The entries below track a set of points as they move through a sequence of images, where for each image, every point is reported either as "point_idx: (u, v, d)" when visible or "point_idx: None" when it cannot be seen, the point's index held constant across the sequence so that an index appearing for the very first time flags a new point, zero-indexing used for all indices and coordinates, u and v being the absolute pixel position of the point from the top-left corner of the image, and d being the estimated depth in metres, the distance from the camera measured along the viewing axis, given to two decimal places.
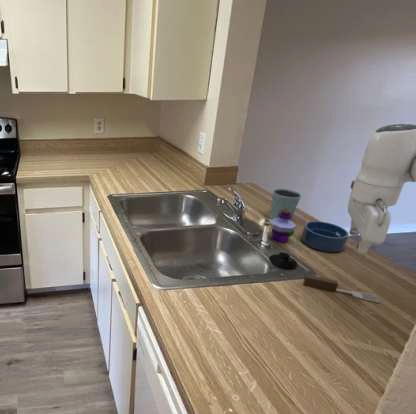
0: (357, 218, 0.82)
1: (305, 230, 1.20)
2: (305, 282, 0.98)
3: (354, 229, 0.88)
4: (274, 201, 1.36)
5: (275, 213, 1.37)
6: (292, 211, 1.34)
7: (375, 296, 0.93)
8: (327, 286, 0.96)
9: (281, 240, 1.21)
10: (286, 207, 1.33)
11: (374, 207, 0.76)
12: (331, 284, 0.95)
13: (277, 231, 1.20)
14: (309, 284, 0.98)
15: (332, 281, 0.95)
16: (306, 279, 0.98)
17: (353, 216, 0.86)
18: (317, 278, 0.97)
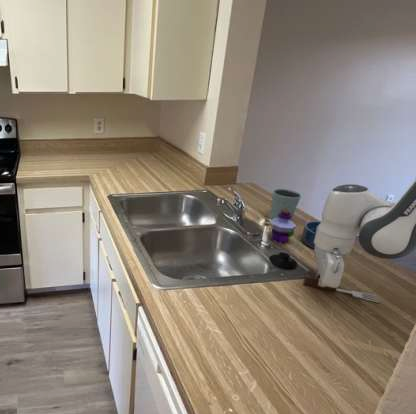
0: (319, 261, 0.94)
1: (305, 230, 1.20)
2: (305, 282, 0.98)
3: None
4: (274, 201, 1.36)
5: (275, 213, 1.37)
6: (292, 211, 1.34)
7: (375, 296, 0.93)
8: (327, 286, 0.96)
9: (281, 240, 1.21)
10: (286, 207, 1.33)
11: (331, 255, 0.88)
12: None
13: (277, 231, 1.20)
14: (309, 284, 0.98)
15: None
16: (306, 279, 0.98)
17: (317, 258, 0.98)
18: (317, 278, 0.97)
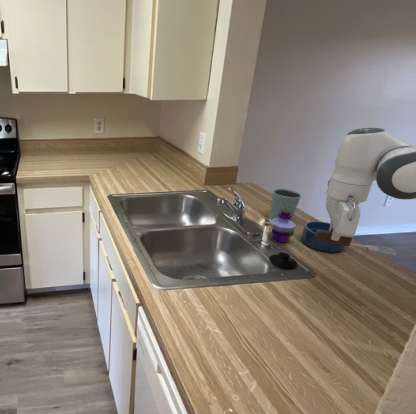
0: (332, 214, 0.90)
1: (305, 230, 1.20)
2: (317, 237, 0.93)
3: (333, 229, 0.93)
4: (274, 201, 1.36)
5: (275, 213, 1.37)
6: (292, 211, 1.34)
7: (391, 249, 0.88)
8: (340, 240, 0.91)
9: (281, 240, 1.21)
10: (286, 207, 1.33)
11: (346, 203, 0.83)
12: (345, 238, 0.90)
13: (277, 231, 1.20)
14: (321, 239, 0.93)
15: None
16: (318, 234, 0.93)
17: (330, 212, 0.93)
18: (330, 232, 0.92)
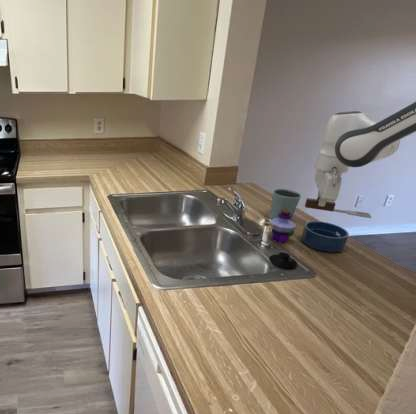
0: (320, 184, 1.07)
1: (305, 230, 1.20)
2: (306, 204, 1.11)
3: (320, 197, 1.10)
4: (274, 201, 1.36)
5: (275, 213, 1.37)
6: (292, 211, 1.34)
7: (368, 213, 1.06)
8: (326, 206, 1.09)
9: (281, 240, 1.21)
10: (286, 207, 1.33)
11: (330, 173, 1.01)
12: (329, 204, 1.08)
13: (277, 231, 1.20)
14: (310, 206, 1.11)
15: (330, 202, 1.09)
16: (307, 201, 1.11)
17: (317, 183, 1.11)
18: (317, 200, 1.10)
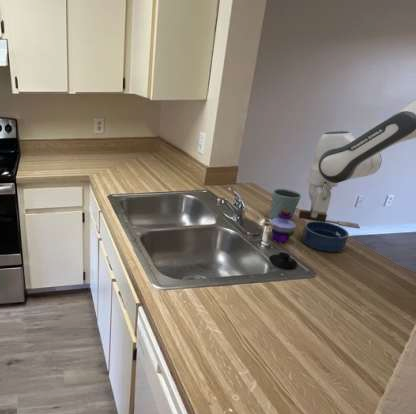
0: (312, 196, 1.16)
1: (305, 230, 1.20)
2: (300, 215, 1.20)
3: (313, 209, 1.19)
4: (274, 201, 1.36)
5: (275, 213, 1.37)
6: (292, 211, 1.34)
7: (357, 224, 1.15)
8: (318, 217, 1.17)
9: (281, 240, 1.21)
10: (286, 207, 1.33)
11: (321, 188, 1.09)
12: (321, 215, 1.17)
13: (277, 231, 1.20)
14: (303, 217, 1.19)
15: (322, 213, 1.17)
16: (301, 213, 1.19)
17: (310, 196, 1.19)
18: (310, 211, 1.18)
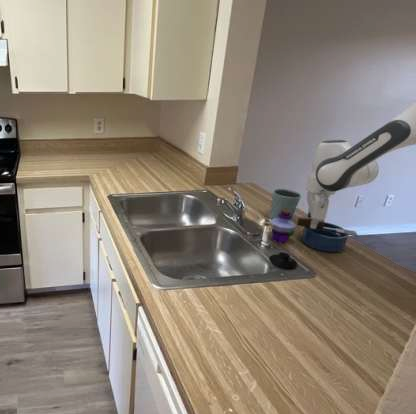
0: (310, 204, 1.17)
1: (305, 230, 1.20)
2: (298, 223, 1.21)
3: None
4: (274, 201, 1.36)
5: (275, 213, 1.37)
6: (292, 211, 1.34)
7: (354, 231, 1.16)
8: None
9: (281, 240, 1.21)
10: (286, 207, 1.33)
11: (319, 196, 1.11)
12: (319, 223, 1.18)
13: (277, 231, 1.20)
14: (302, 224, 1.20)
15: (320, 221, 1.18)
16: (299, 220, 1.20)
17: (308, 203, 1.20)
18: (308, 219, 1.20)
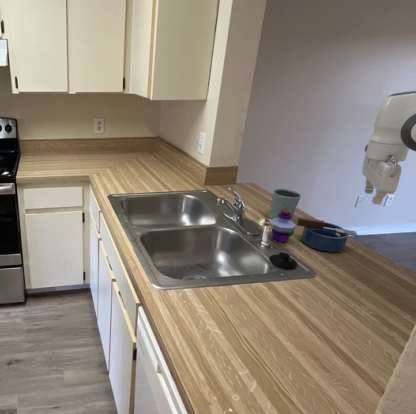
0: (371, 175, 0.96)
1: (305, 230, 1.20)
2: (298, 223, 1.21)
3: (369, 187, 1.01)
4: (274, 201, 1.36)
5: (275, 213, 1.37)
6: (292, 211, 1.34)
7: (354, 231, 1.16)
8: (316, 225, 1.18)
9: (281, 240, 1.21)
10: (286, 207, 1.33)
11: (386, 162, 0.89)
12: (319, 223, 1.18)
13: (277, 231, 1.20)
14: (302, 224, 1.20)
15: (320, 221, 1.18)
16: (299, 220, 1.20)
17: (368, 175, 0.99)
18: (308, 219, 1.20)
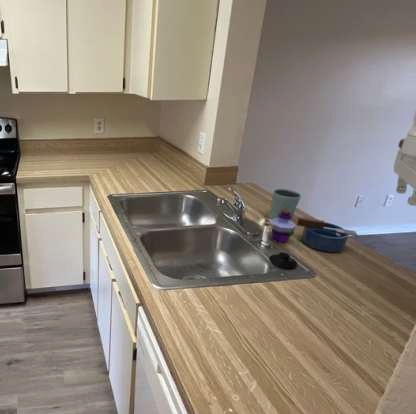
0: (407, 173, 0.86)
1: (305, 230, 1.20)
2: (298, 223, 1.21)
3: (401, 186, 0.92)
4: (274, 201, 1.36)
5: (275, 213, 1.37)
6: (292, 211, 1.34)
7: (354, 231, 1.16)
8: (316, 225, 1.18)
9: (281, 240, 1.21)
10: (286, 207, 1.33)
11: None
12: (319, 223, 1.18)
13: (277, 231, 1.20)
14: (302, 224, 1.20)
15: (320, 221, 1.18)
16: (299, 220, 1.20)
17: (402, 173, 0.90)
18: (308, 219, 1.20)
